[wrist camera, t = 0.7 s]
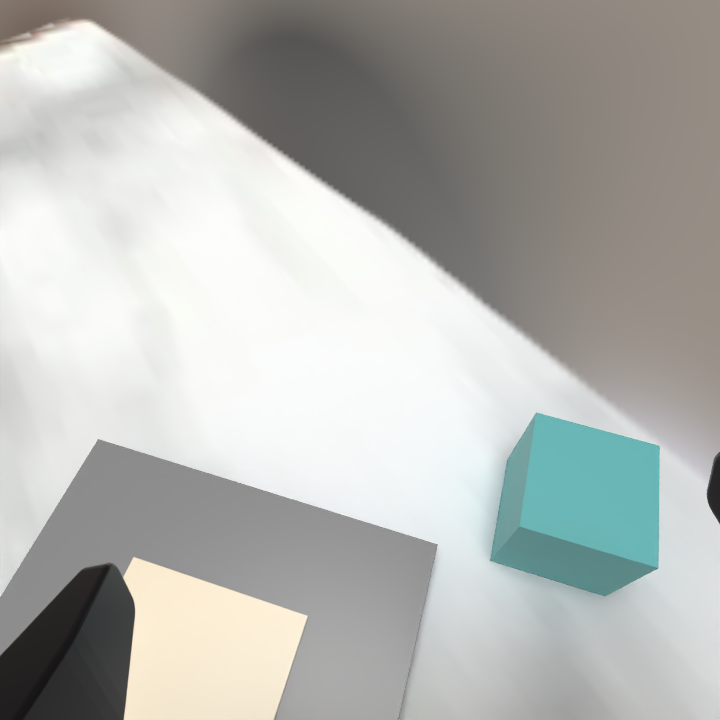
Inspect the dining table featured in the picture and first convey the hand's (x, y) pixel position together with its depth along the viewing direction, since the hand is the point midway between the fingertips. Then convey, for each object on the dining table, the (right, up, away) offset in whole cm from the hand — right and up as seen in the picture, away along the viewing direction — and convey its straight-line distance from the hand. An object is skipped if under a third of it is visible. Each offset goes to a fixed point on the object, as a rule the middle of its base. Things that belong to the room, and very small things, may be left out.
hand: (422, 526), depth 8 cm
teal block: (+8, -5, +18) cm, 20 cm away
